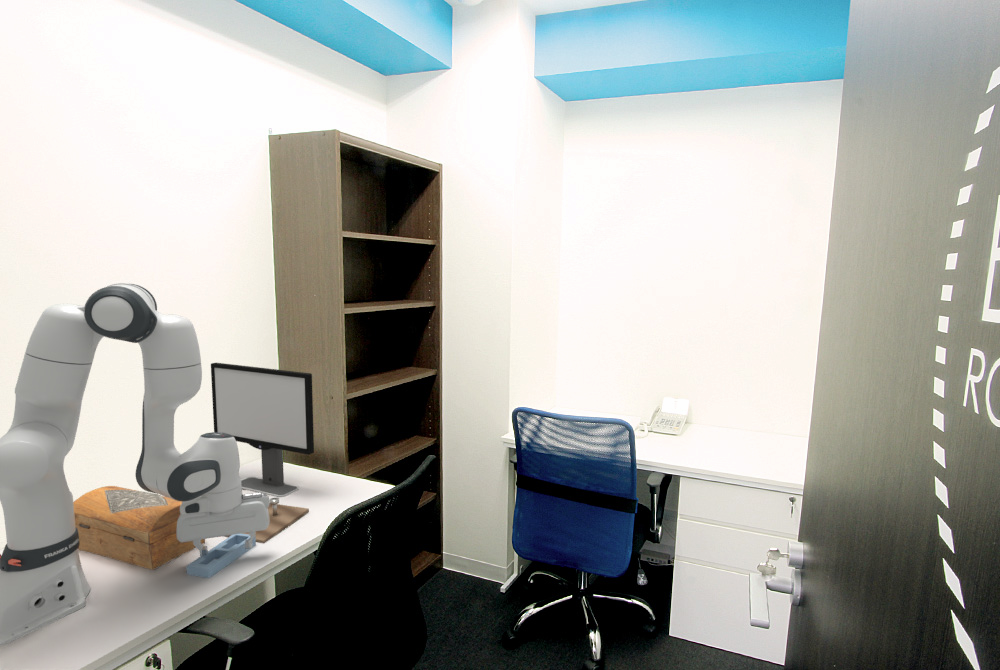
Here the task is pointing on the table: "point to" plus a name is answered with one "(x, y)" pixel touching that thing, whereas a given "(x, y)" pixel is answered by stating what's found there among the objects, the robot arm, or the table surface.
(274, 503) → the steel bosses
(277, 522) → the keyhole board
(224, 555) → the blue compartment tray
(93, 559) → the table surface
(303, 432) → the computer monitor
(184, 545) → the wooden box
